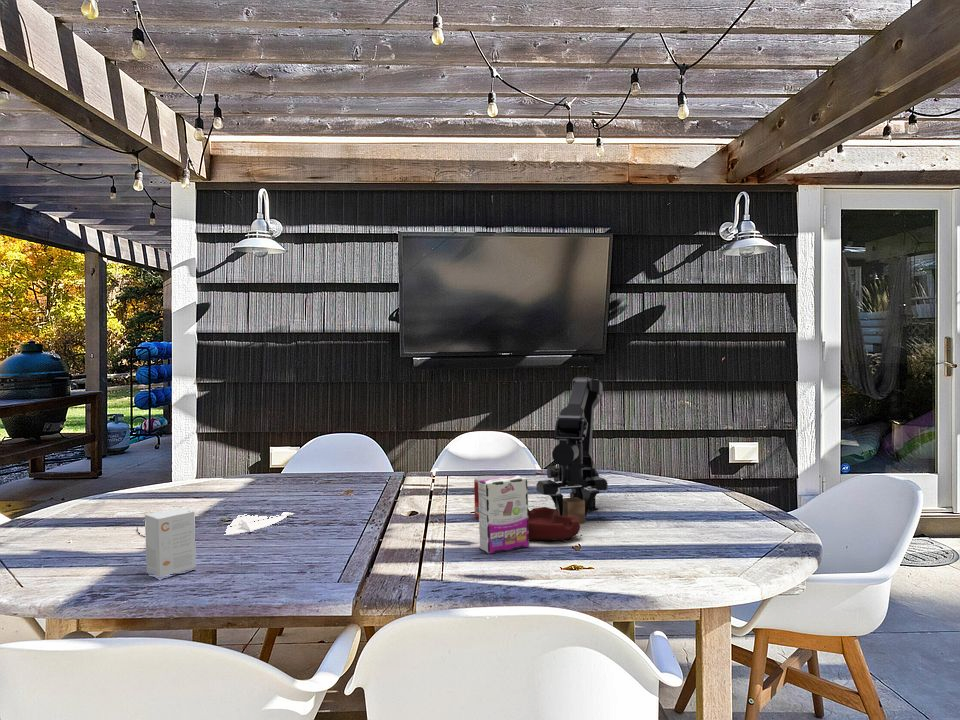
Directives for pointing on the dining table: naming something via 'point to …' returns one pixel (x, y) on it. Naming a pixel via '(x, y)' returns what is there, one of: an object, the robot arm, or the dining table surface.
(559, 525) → the ashtray
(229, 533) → the white flat piece
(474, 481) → the canned food
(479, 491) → the candy bar box
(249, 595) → the dining table surface
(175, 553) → the small box
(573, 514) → the walnut block
